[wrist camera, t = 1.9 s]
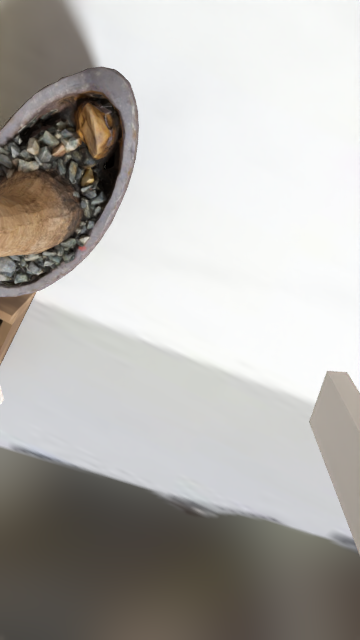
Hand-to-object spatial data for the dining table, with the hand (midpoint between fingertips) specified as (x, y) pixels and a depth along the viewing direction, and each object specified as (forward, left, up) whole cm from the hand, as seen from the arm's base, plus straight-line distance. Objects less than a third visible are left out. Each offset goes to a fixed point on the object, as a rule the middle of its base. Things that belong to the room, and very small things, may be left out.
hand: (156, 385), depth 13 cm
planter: (-11, -2, -24) cm, 26 cm away
